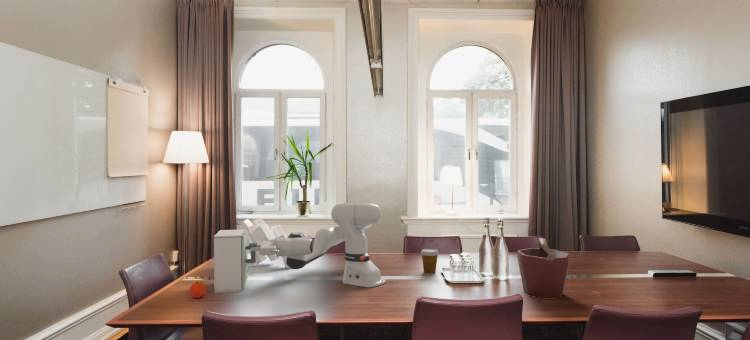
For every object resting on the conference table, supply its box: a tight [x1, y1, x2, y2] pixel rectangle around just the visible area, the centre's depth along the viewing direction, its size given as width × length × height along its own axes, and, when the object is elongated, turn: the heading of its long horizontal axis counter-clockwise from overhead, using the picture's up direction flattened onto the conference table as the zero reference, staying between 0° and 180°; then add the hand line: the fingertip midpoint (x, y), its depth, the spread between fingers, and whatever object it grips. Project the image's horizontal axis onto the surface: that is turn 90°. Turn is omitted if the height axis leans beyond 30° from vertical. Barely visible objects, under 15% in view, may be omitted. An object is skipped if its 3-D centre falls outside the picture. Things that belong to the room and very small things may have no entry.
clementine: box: [188, 281, 208, 299], centre depth 192 cm, size 8×7×7 cm
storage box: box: [213, 229, 245, 294], centre depth 208 cm, size 12×18×26 cm, turn 11°
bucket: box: [516, 237, 571, 299], centre depth 198 cm, size 24×22×25 cm
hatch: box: [242, 230, 257, 290], centre depth 210 cm, size 6×19×25 cm, turn 11°
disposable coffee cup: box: [420, 248, 439, 274], centre depth 236 cm, size 10×10×12 cm
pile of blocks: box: [239, 217, 288, 268], centre depth 253 cm, size 35×30×35 cm
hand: (250, 248), depth 210 cm, fingers closed
